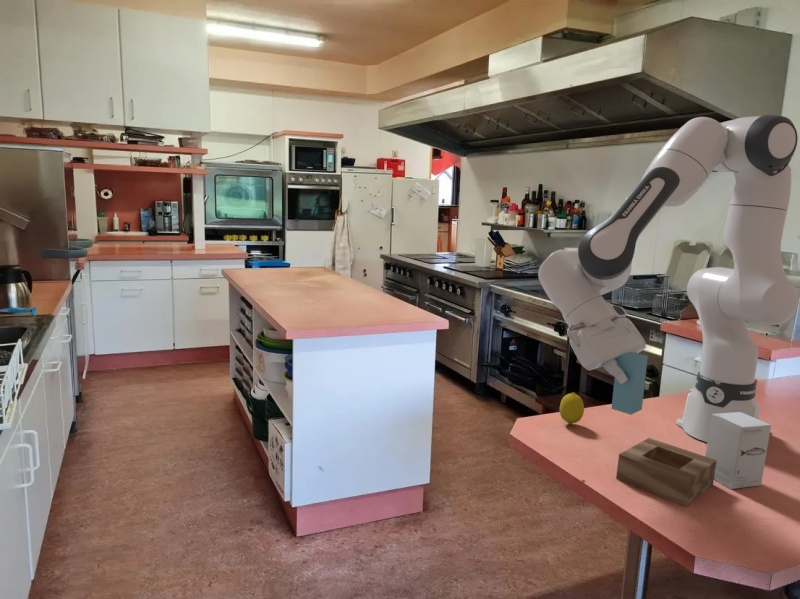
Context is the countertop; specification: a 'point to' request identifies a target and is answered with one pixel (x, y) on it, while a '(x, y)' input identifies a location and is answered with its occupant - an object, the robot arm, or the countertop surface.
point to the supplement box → (738, 448)
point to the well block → (666, 471)
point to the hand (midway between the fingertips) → (633, 378)
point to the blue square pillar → (630, 383)
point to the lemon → (571, 408)
